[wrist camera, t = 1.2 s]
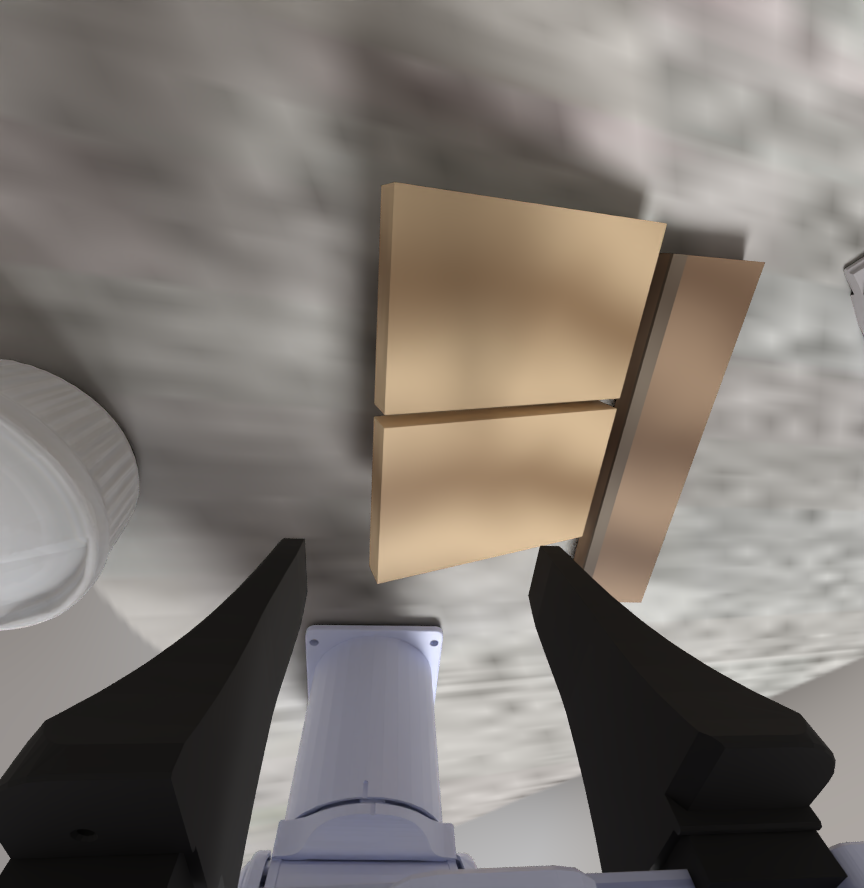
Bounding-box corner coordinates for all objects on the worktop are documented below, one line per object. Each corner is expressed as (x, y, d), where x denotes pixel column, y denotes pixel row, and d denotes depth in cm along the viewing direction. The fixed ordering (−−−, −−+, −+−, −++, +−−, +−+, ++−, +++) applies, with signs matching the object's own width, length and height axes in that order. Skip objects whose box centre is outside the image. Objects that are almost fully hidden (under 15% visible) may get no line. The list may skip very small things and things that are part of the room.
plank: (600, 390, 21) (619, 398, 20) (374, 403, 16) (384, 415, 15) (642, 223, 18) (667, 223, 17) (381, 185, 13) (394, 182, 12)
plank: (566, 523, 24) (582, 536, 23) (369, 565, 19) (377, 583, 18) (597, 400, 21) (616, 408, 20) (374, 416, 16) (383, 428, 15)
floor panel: (630, 587, 26) (642, 604, 25) (566, 586, 26) (574, 603, 24) (743, 261, 19) (768, 262, 18) (655, 252, 18) (673, 253, 17)
